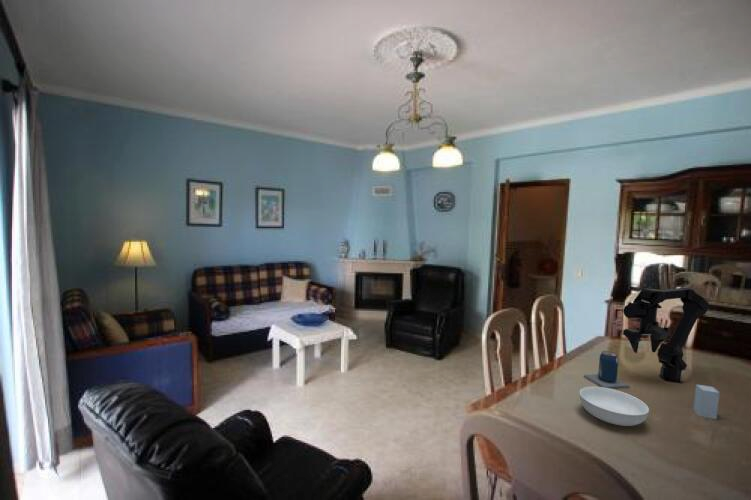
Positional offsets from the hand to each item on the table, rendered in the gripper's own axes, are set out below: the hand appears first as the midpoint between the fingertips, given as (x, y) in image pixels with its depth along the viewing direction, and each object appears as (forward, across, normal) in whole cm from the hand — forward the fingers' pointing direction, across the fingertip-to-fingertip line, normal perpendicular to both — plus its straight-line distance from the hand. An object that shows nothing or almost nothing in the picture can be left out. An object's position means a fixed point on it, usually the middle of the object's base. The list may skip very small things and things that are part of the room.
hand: (644, 352), depth 165 cm
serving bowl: (+13, -39, -26) cm, 49 cm away
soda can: (+12, -18, 0) cm, 21 cm away
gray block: (+13, -1, -28) cm, 31 cm away
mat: (+13, -18, 0) cm, 22 cm away
